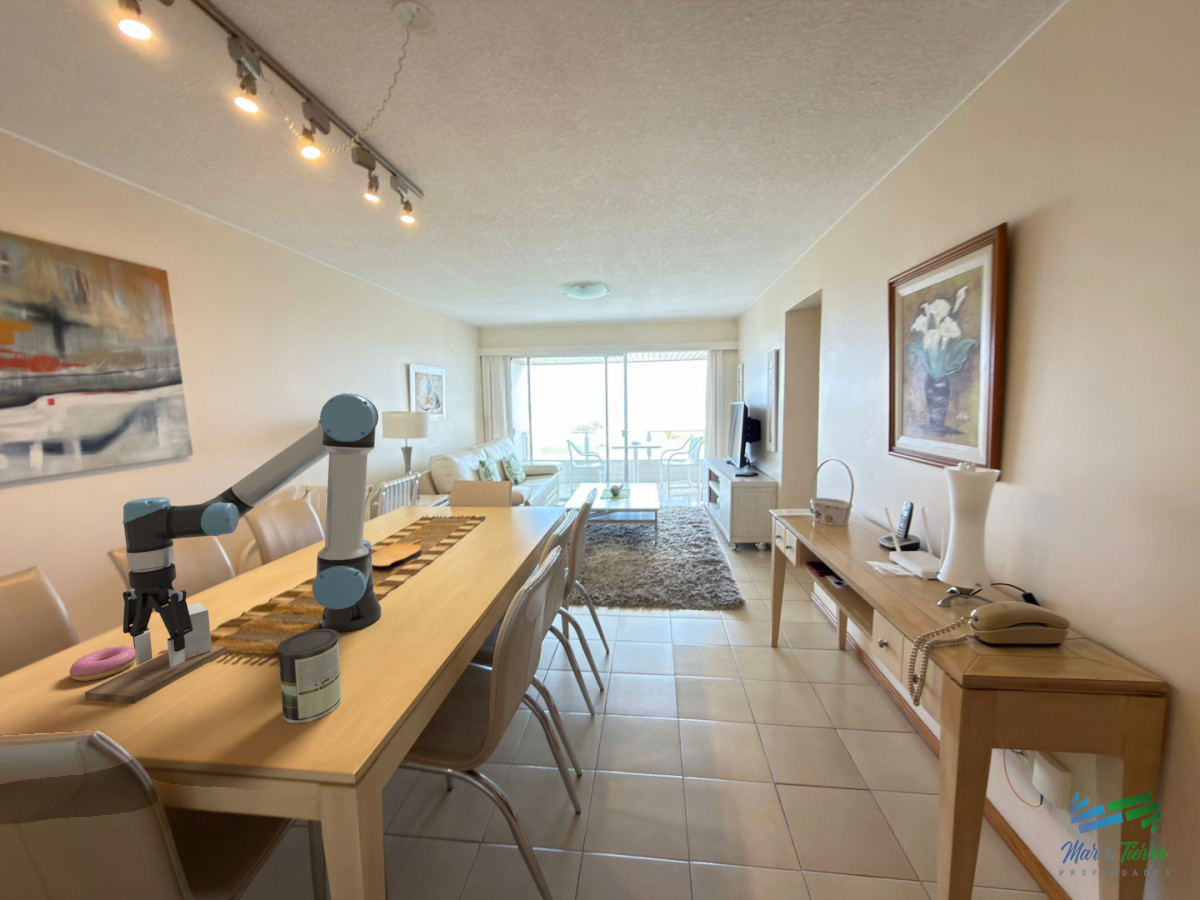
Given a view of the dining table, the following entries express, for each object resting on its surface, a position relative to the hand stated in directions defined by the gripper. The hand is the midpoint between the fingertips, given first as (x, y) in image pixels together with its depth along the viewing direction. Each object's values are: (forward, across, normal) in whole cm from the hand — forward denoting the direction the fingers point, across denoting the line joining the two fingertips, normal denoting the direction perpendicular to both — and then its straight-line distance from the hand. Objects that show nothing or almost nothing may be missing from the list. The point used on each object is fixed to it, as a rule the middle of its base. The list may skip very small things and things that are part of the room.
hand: (160, 662), depth 104 cm
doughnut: (+3, +15, 0) cm, 15 cm away
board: (+3, 0, 0) cm, 3 cm away
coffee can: (+3, -44, +7) cm, 45 cm away
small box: (+1, 0, -7) cm, 7 cm away
